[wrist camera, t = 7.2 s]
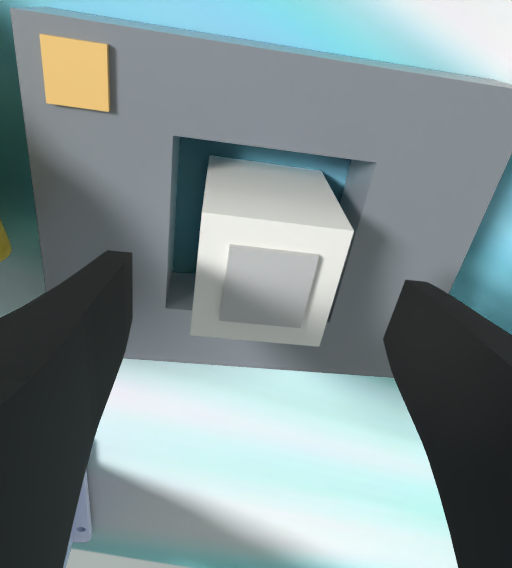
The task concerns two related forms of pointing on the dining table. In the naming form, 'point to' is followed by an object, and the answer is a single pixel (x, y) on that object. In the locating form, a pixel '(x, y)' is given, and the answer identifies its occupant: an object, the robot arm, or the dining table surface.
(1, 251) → the plant pot
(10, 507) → the robot arm
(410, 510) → the dining table surface
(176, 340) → the socket plate
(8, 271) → the dining table surface
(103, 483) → the dining table surface
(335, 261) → the plug block
